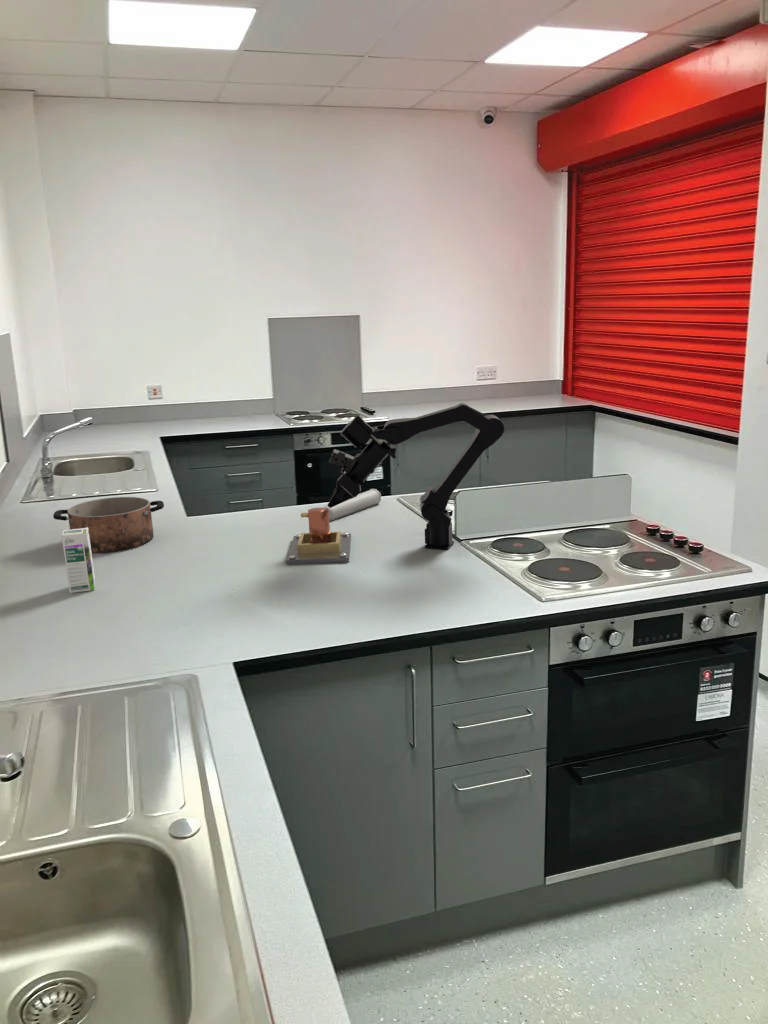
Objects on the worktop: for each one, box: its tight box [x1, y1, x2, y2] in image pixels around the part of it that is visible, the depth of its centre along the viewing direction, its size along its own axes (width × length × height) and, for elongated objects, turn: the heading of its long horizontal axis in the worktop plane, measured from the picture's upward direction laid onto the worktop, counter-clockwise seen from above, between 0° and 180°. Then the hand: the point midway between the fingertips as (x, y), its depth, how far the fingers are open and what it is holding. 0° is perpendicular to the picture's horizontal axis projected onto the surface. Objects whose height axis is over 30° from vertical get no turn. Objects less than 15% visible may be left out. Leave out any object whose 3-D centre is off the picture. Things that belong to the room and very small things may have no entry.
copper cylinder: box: [300, 507, 331, 543], centre depth 219 cm, size 8×6×10 cm
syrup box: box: [61, 527, 96, 594], centre depth 196 cm, size 6×6×14 cm
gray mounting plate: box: [285, 531, 352, 566], centre depth 220 cm, size 16×22×4 cm
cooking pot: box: [52, 496, 165, 554], centre depth 235 cm, size 30×22×11 cm
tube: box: [323, 488, 382, 522], centre depth 258 cm, size 5×5×25 cm
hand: (330, 502), depth 217 cm, fingers open, 9 cm apart
